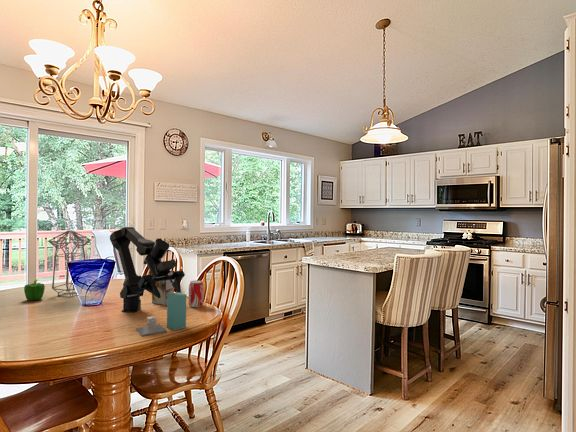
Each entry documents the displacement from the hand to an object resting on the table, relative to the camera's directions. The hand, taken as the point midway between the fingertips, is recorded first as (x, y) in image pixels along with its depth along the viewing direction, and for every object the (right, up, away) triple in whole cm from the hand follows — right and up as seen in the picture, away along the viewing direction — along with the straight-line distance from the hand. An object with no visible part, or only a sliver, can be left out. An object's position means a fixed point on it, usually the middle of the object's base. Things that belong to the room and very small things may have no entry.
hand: (170, 295), depth 143 cm
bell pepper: (-80, -10, +35) cm, 88 cm away
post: (-5, -12, -8) cm, 15 cm away
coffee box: (-15, -12, +34) cm, 39 cm away
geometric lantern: (-69, -10, +45) cm, 83 cm away
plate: (-5, -12, -8) cm, 15 cm away
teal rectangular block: (+3, -12, -3) cm, 13 cm away
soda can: (+3, -12, +29) cm, 32 cm away
